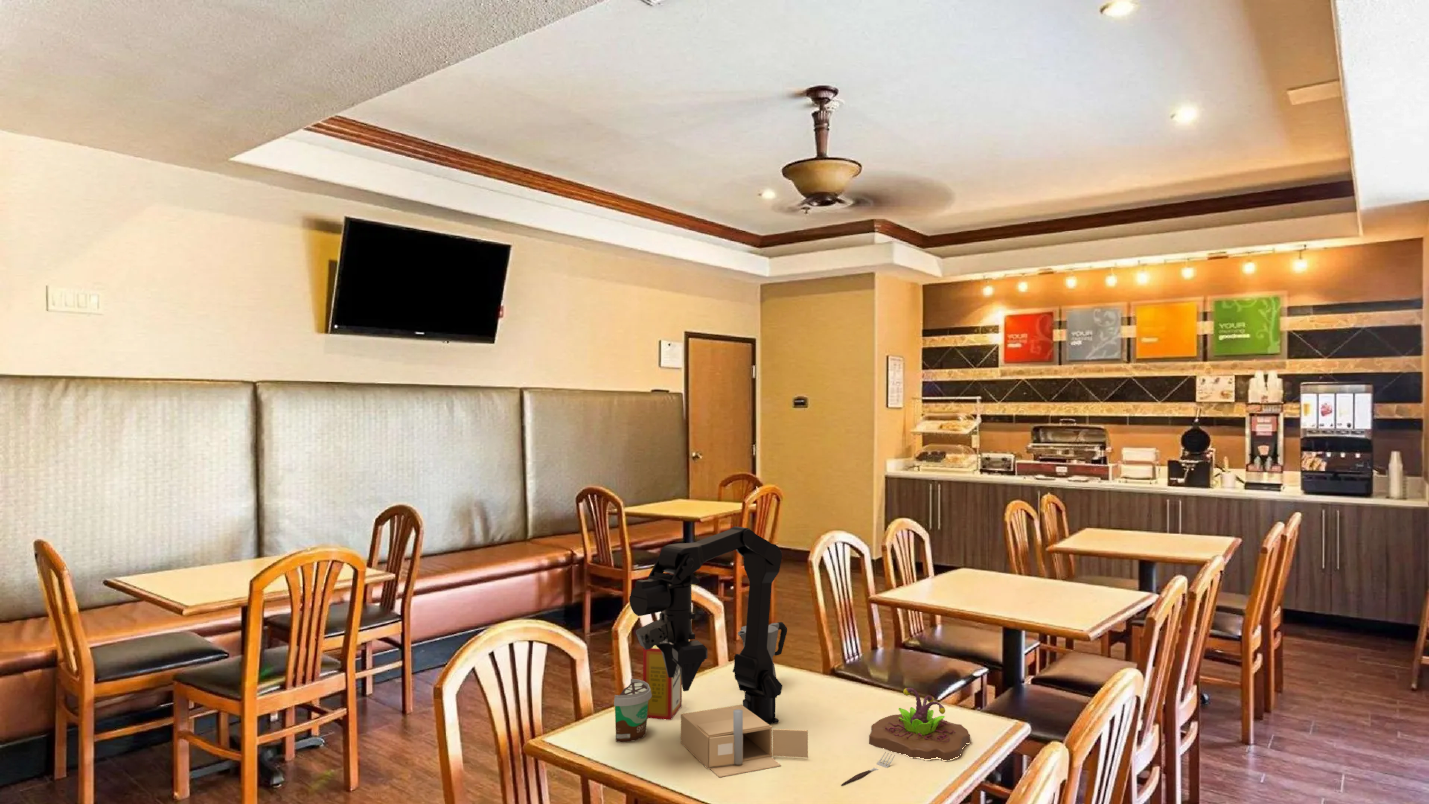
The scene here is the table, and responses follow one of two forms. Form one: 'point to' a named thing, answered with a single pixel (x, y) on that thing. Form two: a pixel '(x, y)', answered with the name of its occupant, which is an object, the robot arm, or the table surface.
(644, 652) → the baking soda box
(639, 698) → the food container
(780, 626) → the coffeepot
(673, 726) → the table surface
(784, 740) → the carton
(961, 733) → the plant
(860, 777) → the fork
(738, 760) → the flap
